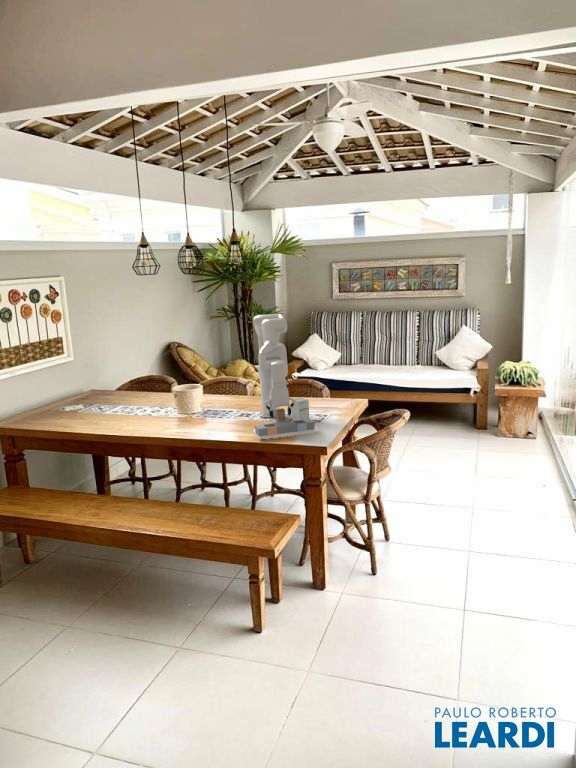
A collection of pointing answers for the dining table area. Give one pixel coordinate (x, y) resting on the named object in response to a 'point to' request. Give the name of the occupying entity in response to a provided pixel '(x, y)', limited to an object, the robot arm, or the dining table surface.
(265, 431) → the port board
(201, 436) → the dining table surface
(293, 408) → the supplement box
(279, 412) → the walnut plug
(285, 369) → the robot arm
